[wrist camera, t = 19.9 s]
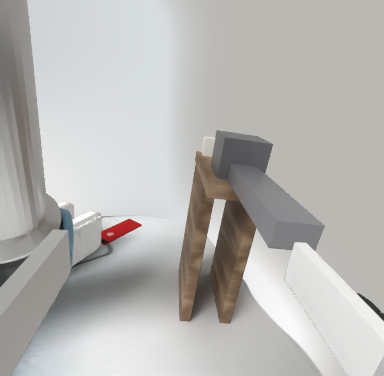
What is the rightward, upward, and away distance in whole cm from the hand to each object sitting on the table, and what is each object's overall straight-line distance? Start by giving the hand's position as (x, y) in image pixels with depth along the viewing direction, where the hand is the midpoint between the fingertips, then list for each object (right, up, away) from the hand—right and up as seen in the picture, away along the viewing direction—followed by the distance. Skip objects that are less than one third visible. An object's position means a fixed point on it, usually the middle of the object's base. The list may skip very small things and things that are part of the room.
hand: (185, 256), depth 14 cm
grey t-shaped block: (+8, +3, +17) cm, 19 cm away
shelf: (+3, -20, +39) cm, 44 cm away
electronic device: (-22, -9, +58) cm, 63 cm away
